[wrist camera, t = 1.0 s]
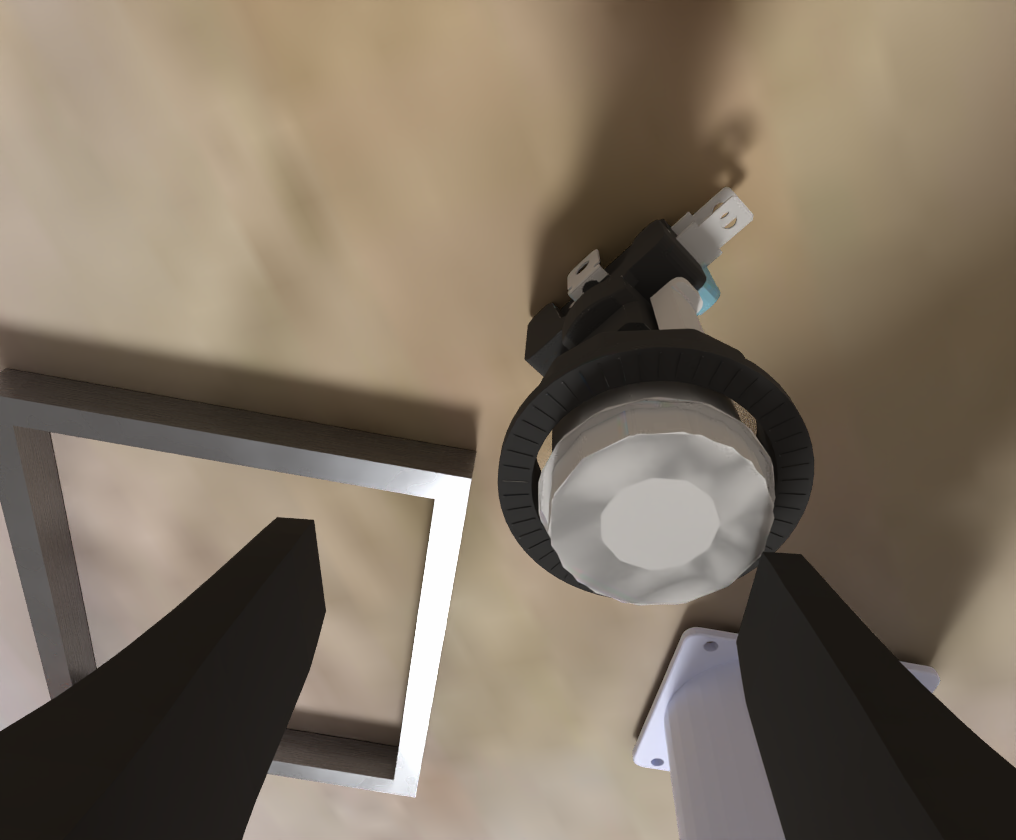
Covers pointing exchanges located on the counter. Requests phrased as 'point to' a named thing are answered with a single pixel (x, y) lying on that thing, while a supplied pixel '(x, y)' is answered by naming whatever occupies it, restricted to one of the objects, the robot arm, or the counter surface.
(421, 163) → the counter surface
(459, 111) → the counter surface
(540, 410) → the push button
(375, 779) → the frame
